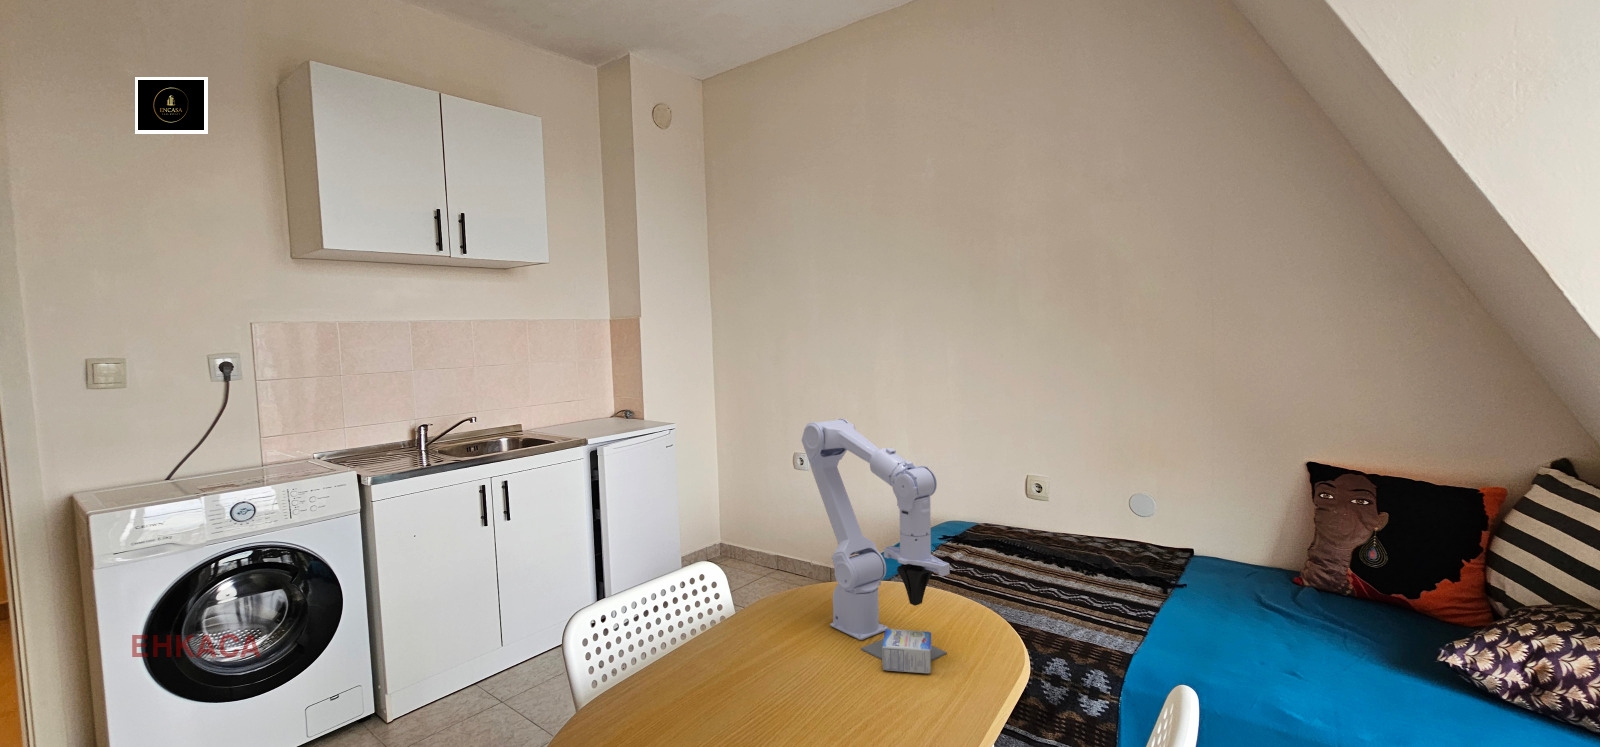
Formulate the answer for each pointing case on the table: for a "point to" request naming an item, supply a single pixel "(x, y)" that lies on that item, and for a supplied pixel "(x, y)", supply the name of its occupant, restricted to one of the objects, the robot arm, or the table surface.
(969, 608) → the table surface
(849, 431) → the robot arm
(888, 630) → the medicine box
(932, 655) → the gray mat
